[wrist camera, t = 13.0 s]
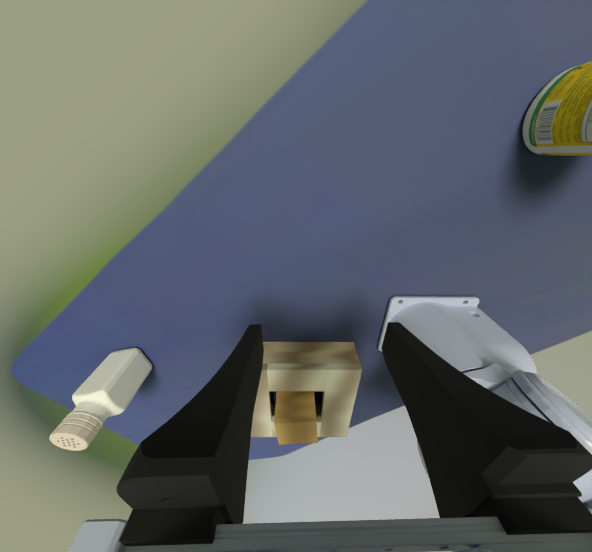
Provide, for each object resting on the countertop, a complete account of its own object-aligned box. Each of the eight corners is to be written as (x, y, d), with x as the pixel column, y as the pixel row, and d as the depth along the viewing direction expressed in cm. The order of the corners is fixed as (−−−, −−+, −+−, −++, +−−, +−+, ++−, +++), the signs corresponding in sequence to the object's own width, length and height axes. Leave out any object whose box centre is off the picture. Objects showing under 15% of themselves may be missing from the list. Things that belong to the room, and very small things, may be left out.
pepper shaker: (156, 366, 29) (101, 450, 21) (128, 370, 30) (65, 454, 21) (139, 344, 27) (72, 428, 19) (110, 349, 28) (32, 434, 20)
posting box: (353, 342, 27) (362, 369, 24) (341, 407, 34) (346, 436, 31) (239, 341, 27) (231, 369, 24) (250, 407, 34) (245, 437, 31)
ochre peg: (311, 365, 30) (316, 421, 23) (313, 386, 32) (317, 442, 26) (278, 367, 30) (274, 423, 24) (282, 388, 32) (279, 444, 26)
